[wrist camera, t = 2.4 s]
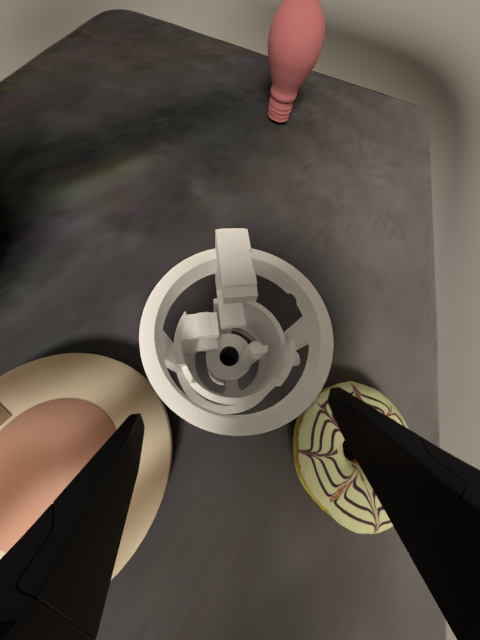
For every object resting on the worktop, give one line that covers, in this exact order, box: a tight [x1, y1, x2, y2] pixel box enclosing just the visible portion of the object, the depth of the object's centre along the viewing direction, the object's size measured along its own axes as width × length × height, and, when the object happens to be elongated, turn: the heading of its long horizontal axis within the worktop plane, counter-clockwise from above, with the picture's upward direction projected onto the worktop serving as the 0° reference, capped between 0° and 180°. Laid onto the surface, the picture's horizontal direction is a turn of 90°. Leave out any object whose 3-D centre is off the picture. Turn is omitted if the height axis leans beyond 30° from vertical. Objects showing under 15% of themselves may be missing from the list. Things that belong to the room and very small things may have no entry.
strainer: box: [139, 228, 334, 436], centre depth 14 cm, size 7×7×15 cm
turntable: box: [0, 353, 173, 580], centre depth 15 cm, size 16×16×1 cm
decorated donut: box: [293, 381, 408, 534], centre depth 18 cm, size 10×11×4 cm
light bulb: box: [268, 0, 325, 122], centre depth 29 cm, size 7×7×12 cm
